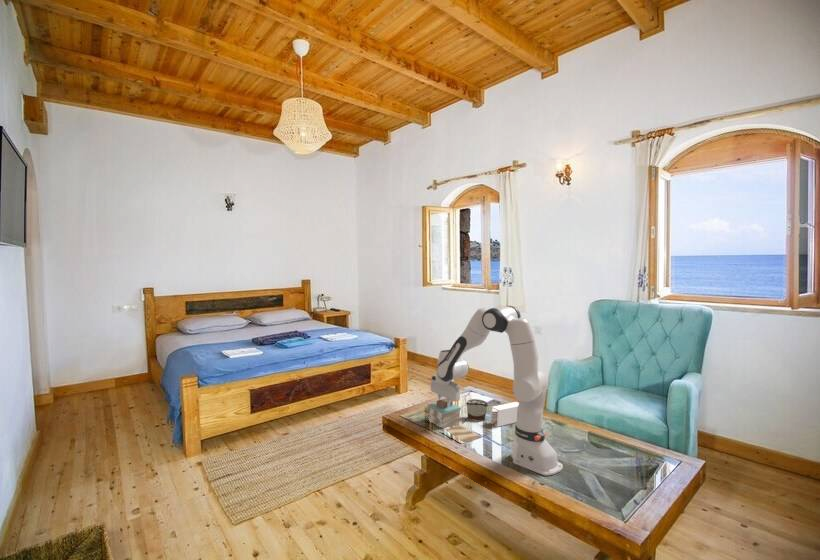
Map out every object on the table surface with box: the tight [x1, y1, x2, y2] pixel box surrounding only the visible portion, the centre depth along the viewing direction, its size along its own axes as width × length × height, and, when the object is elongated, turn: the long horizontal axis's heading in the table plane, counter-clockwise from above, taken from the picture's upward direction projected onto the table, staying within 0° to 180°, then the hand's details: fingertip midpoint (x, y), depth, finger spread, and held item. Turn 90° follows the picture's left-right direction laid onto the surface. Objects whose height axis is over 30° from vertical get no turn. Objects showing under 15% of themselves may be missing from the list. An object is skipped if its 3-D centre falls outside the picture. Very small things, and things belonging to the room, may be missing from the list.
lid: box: [427, 398, 462, 414], centre depth 216 cm, size 13×13×5 cm
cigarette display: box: [490, 401, 519, 428], centre depth 220 cm, size 20×6×9 cm, turn 121°
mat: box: [445, 425, 482, 443], centre depth 202 cm, size 16×14×1 cm
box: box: [427, 407, 461, 429], centre depth 217 cm, size 12×12×8 cm
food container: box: [465, 398, 489, 422], centre depth 225 cm, size 12×6×10 cm, turn 84°
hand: (444, 404), depth 216 cm, fingers closed on lid, 4 cm apart
